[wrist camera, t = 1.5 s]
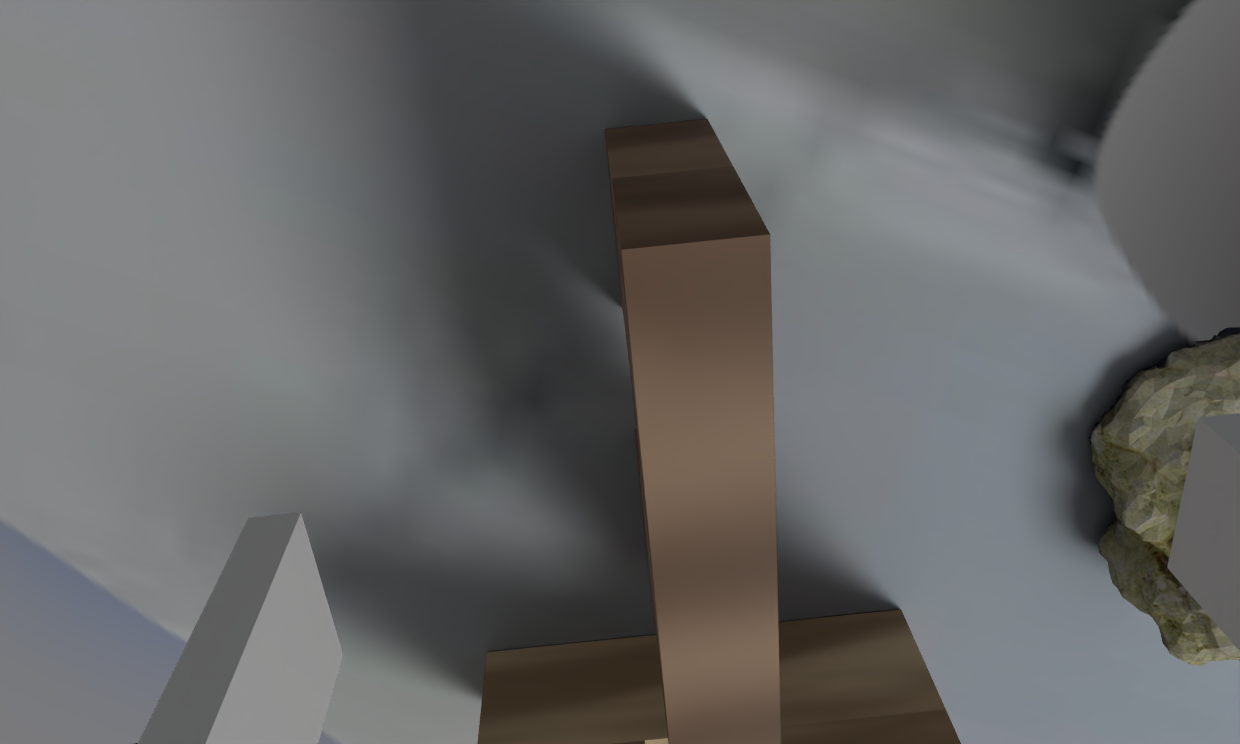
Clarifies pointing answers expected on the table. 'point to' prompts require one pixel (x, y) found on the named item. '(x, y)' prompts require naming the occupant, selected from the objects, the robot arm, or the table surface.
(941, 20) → the table surface
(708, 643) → the walnut plate
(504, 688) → the oak board
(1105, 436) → the rock
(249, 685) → the robot arm
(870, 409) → the table surface
